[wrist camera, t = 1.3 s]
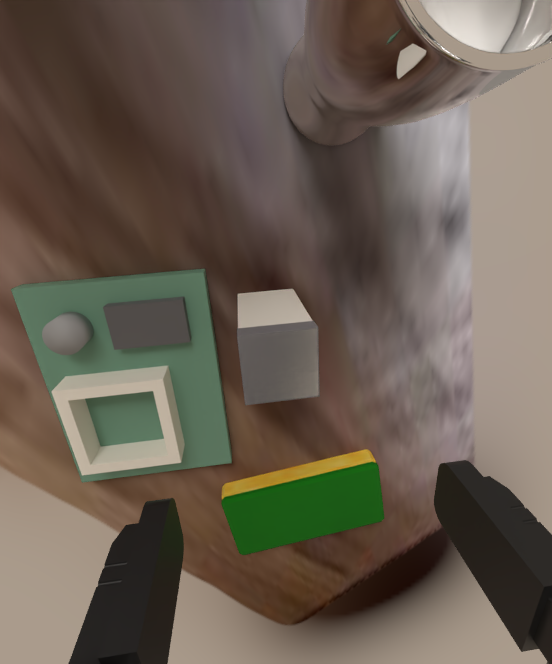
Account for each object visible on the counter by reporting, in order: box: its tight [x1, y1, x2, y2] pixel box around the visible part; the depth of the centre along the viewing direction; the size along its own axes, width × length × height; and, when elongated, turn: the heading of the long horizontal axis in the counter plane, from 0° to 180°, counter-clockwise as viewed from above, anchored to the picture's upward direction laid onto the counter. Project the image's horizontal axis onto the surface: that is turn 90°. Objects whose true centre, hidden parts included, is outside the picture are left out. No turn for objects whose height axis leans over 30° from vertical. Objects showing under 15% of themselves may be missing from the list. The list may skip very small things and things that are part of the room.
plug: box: [237, 289, 319, 405], centre depth 22 cm, size 4×4×8 cm
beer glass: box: [283, 0, 552, 146], centre depth 13 cm, size 7×7×15 cm
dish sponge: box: [221, 449, 384, 555], centre depth 32 cm, size 7×14×2 cm, turn 102°
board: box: [11, 269, 232, 482], centre depth 25 cm, size 16×12×3 cm
